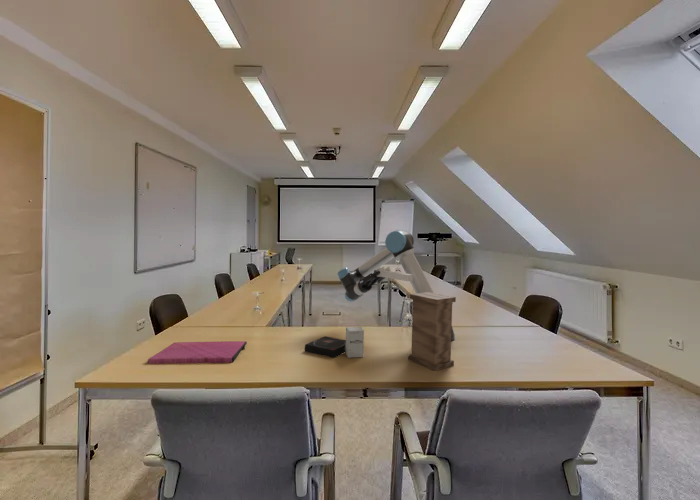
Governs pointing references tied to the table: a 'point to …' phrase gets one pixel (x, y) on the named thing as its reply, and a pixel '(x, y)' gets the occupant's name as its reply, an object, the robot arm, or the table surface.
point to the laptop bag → (199, 352)
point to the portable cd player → (326, 347)
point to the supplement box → (354, 342)
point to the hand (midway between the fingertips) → (386, 269)
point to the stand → (431, 330)
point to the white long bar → (396, 275)
